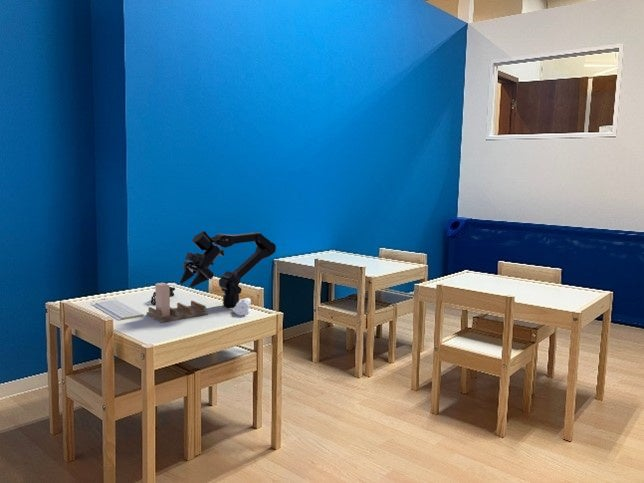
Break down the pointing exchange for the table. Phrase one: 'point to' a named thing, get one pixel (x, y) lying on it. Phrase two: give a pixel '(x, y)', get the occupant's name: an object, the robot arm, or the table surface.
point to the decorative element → (155, 295)
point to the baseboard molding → (117, 309)
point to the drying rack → (179, 312)
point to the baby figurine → (242, 307)
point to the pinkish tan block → (163, 298)
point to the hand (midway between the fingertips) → (185, 284)
